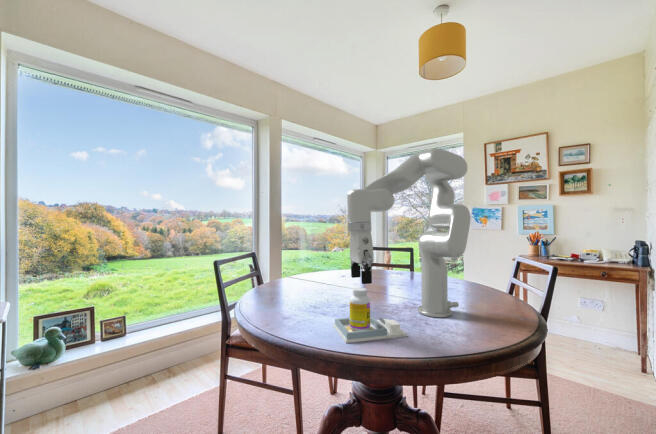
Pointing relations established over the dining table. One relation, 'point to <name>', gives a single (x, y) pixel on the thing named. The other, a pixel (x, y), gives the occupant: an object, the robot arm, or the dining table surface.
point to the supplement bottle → (359, 310)
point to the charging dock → (376, 331)
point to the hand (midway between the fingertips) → (361, 280)
